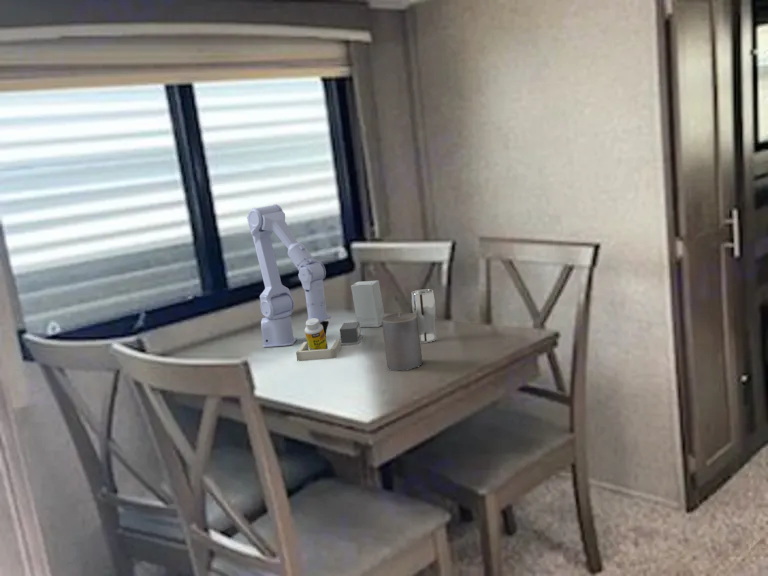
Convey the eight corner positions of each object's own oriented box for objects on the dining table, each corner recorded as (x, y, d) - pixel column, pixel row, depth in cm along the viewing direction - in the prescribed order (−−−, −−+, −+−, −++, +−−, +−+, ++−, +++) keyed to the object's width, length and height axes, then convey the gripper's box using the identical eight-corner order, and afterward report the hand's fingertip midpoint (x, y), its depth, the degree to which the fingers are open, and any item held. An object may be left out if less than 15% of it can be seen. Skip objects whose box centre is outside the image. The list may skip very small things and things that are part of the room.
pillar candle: (394, 359, 216) (388, 308, 213) (427, 360, 213) (421, 307, 210) (381, 371, 208) (375, 317, 205) (416, 371, 204) (409, 316, 201)
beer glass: (413, 343, 230) (408, 294, 228) (418, 337, 237) (413, 289, 234) (436, 343, 229) (431, 293, 226) (440, 336, 235) (435, 288, 232)
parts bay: (297, 360, 226) (296, 352, 226) (304, 349, 237) (303, 341, 237) (335, 357, 225) (334, 349, 225) (341, 346, 236) (340, 339, 236)
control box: (339, 346, 237) (337, 330, 236) (344, 337, 247) (342, 322, 246) (358, 344, 237) (357, 328, 236) (362, 336, 246) (361, 320, 245)
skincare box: (385, 323, 260) (380, 279, 257) (378, 327, 254) (373, 283, 251) (363, 323, 263) (358, 280, 260) (355, 327, 258) (350, 284, 255)
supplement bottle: (315, 357, 228) (308, 328, 224) (307, 351, 233) (299, 322, 228) (331, 350, 231) (324, 320, 226) (322, 343, 235) (315, 314, 231)
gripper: (324, 307, 225) (330, 351, 227) (332, 296, 239) (338, 338, 241) (301, 309, 225) (307, 353, 228) (310, 298, 240) (316, 340, 242)
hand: (321, 346), depth 235 cm, fingers closed
